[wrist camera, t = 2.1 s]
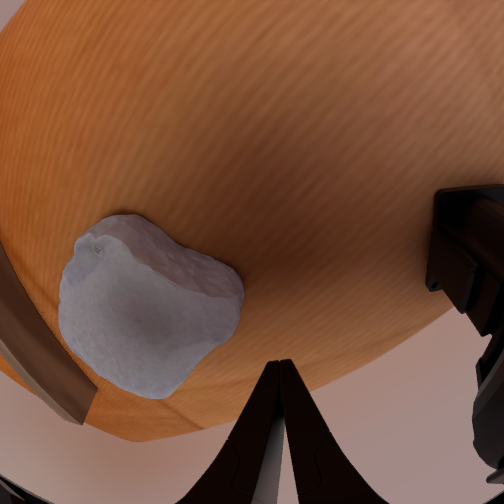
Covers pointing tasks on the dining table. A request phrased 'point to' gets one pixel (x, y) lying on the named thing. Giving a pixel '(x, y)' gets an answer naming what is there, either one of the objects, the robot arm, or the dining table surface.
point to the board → (39, 352)
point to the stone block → (145, 305)
